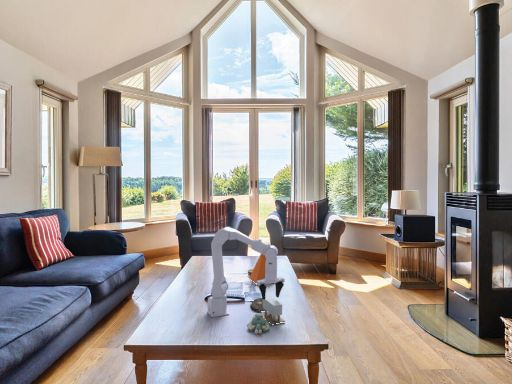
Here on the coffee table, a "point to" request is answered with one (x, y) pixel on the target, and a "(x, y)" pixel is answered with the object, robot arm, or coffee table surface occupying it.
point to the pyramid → (259, 269)
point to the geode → (257, 305)
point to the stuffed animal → (258, 324)
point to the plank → (272, 306)
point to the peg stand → (272, 318)
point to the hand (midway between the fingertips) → (270, 297)
